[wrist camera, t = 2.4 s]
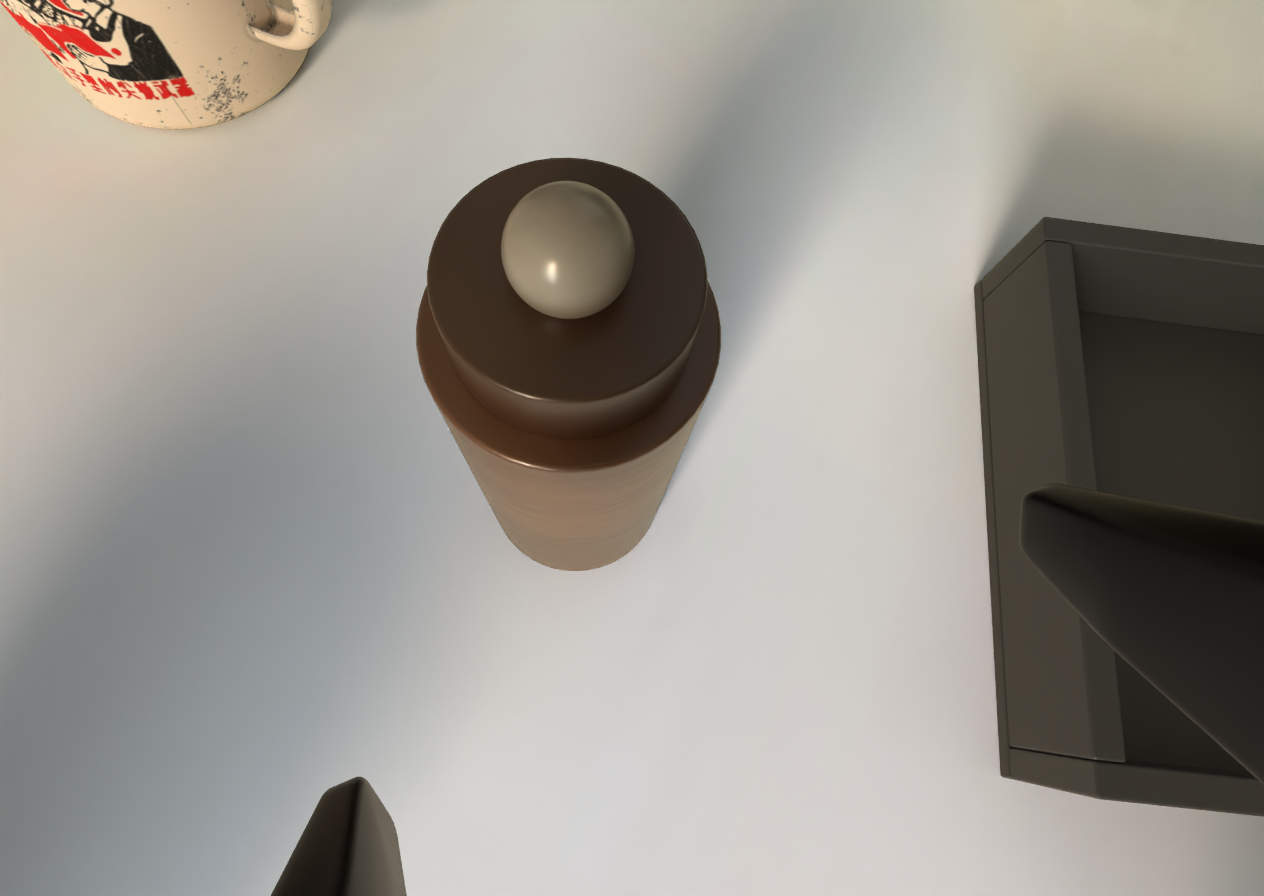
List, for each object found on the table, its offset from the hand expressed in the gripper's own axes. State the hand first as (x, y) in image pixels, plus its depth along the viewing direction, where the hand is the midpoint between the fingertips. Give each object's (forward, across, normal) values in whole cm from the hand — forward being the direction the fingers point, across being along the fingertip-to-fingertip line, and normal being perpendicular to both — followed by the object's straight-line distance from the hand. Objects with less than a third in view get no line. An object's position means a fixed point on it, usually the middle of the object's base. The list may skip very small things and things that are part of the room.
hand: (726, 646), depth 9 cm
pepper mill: (+12, 0, +4) cm, 13 cm away
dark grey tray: (+6, -18, +10) cm, 22 cm away
